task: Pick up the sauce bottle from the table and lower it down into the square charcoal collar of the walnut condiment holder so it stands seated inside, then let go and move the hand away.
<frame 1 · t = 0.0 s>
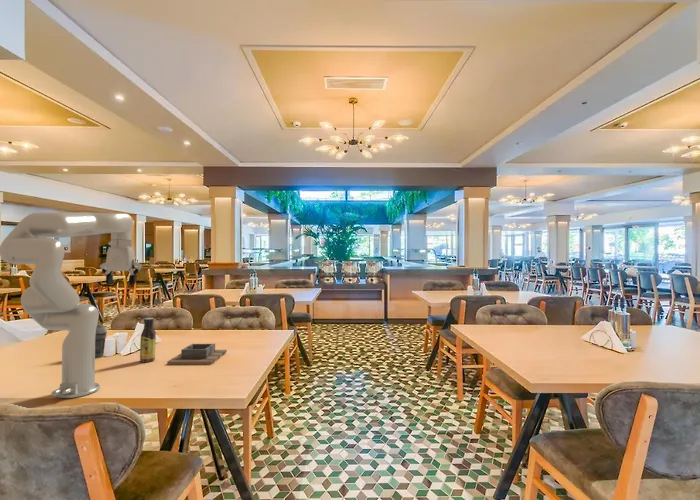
hand: (121, 284, 154), 37 cm above the table, tool pointing down, fingers open, 9 cm apart
beverage cup: (97, 357, 174), on the table
condiment holder: (198, 358, 171), on the table
sauce bottle: (147, 361, 167), on the table
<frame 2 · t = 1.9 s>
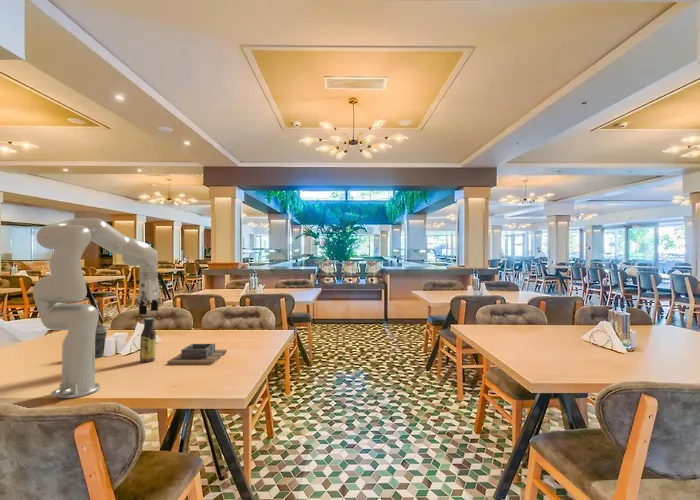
hand: (148, 312, 168), 23 cm above the table, tool pointing down, fingers open, 9 cm apart
nothing on the table moved.
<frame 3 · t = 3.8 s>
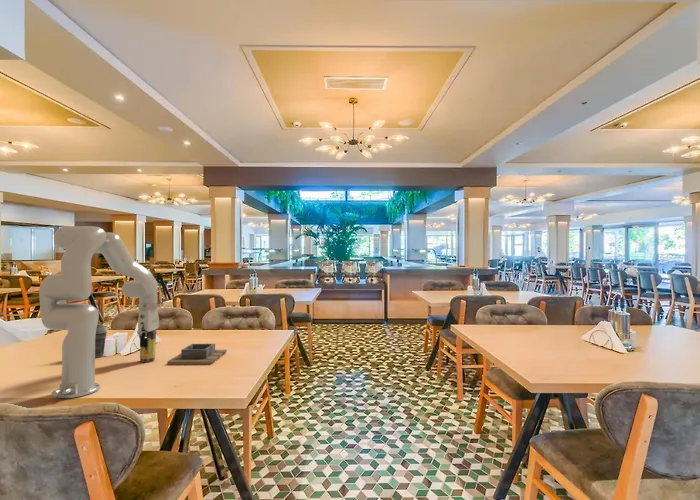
hand: (148, 344, 167), 8 cm above the table, tool pointing down, fingers closed on sauce bottle, 6 cm apart
sauce bottle: (147, 361, 167), on the table, touching gripper
everything else where it was.
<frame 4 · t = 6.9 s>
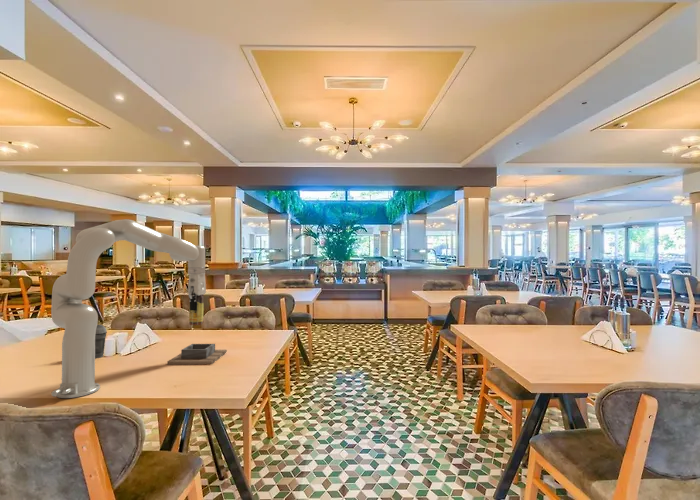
hand: (196, 308, 171), 24 cm above the table, tool pointing down, fingers closed on sauce bottle, 6 cm apart
sauce bottle: (196, 325, 171), point 16 cm above the table, touching gripper
everything else where it was.
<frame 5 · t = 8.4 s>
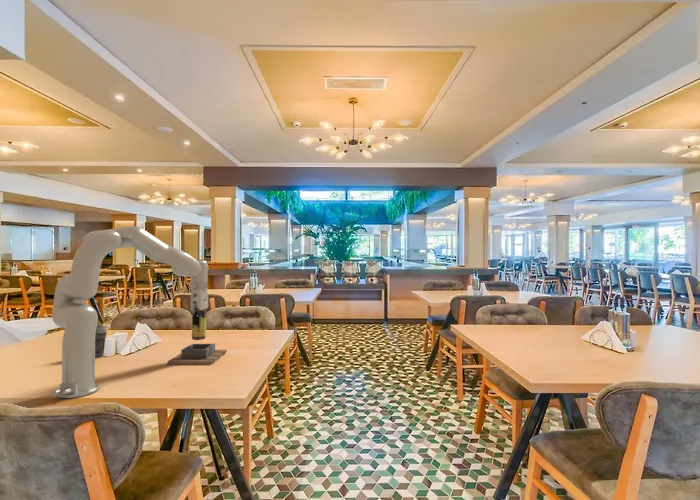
hand: (199, 323, 172), 17 cm above the table, tool pointing down, fingers closed on sauce bottle, 6 cm apart
sauce bottle: (199, 339, 172), point 9 cm above the table, touching gripper
everything else where it was.
when the fingers open (11 cm above the table, at t = 9.9 s): sauce bottle drops 2 cm, resting on condiment holder.
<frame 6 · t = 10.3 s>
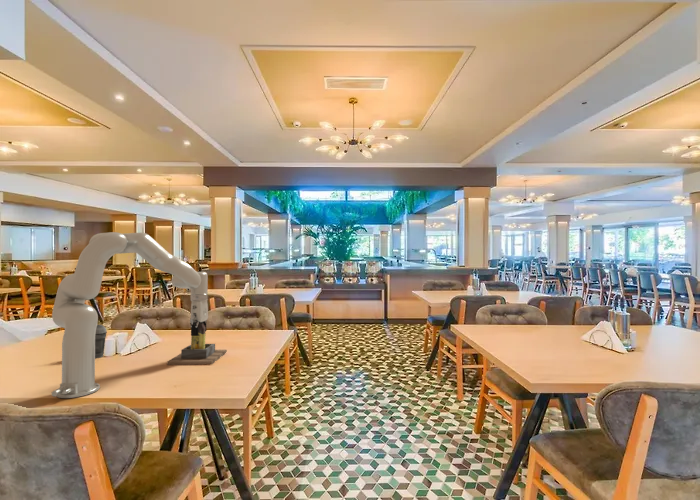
hand: (198, 333, 172), 12 cm above the table, tool pointing down, fingers open, 9 cm apart
sauce bottle: (198, 355, 171), point 1 cm above the table, touching condiment holder
everything else where it was.
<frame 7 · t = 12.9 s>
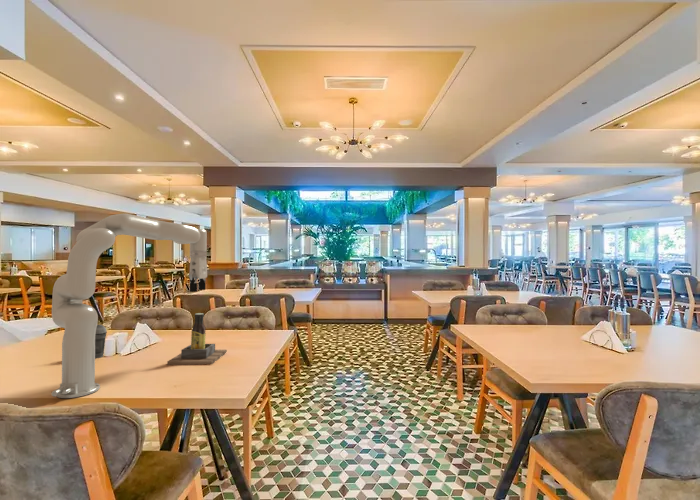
hand: (197, 290, 171), 32 cm above the table, tool pointing down, fingers open, 9 cm apart
nothing on the table moved.
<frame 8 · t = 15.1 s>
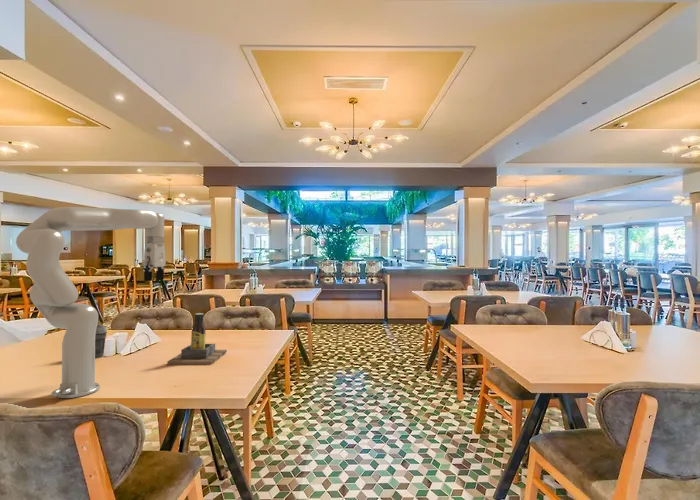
hand: (154, 280, 158), 38 cm above the table, tool pointing down, fingers open, 9 cm apart
nothing on the table moved.
at the end: sauce bottle 0.3 cm off-centre on the condiment holder, point 1.3 cm above the condiment holder's base; sauce bottle tilted 0°; the gripper is holding nothing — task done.
